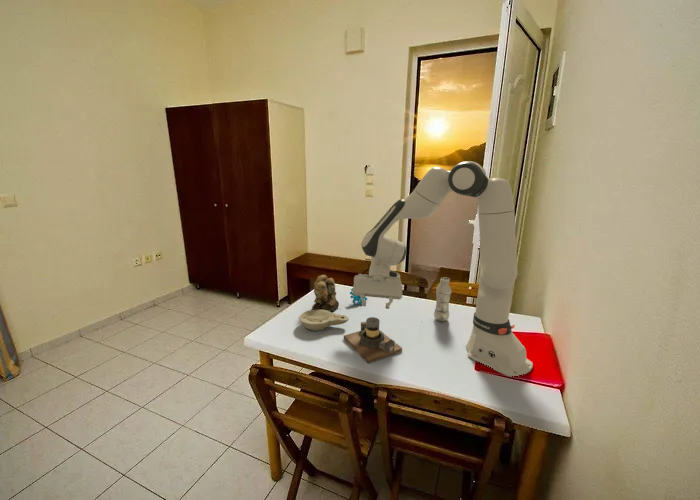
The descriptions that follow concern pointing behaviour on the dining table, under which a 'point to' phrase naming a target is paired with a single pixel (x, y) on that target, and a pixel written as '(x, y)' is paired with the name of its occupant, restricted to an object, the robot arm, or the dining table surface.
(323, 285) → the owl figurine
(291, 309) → the dining table surface
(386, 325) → the dining table surface
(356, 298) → the teal virus model
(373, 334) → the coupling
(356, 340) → the shaft seat
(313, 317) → the oil lamp
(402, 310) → the dining table surface
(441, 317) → the plastic bottle
